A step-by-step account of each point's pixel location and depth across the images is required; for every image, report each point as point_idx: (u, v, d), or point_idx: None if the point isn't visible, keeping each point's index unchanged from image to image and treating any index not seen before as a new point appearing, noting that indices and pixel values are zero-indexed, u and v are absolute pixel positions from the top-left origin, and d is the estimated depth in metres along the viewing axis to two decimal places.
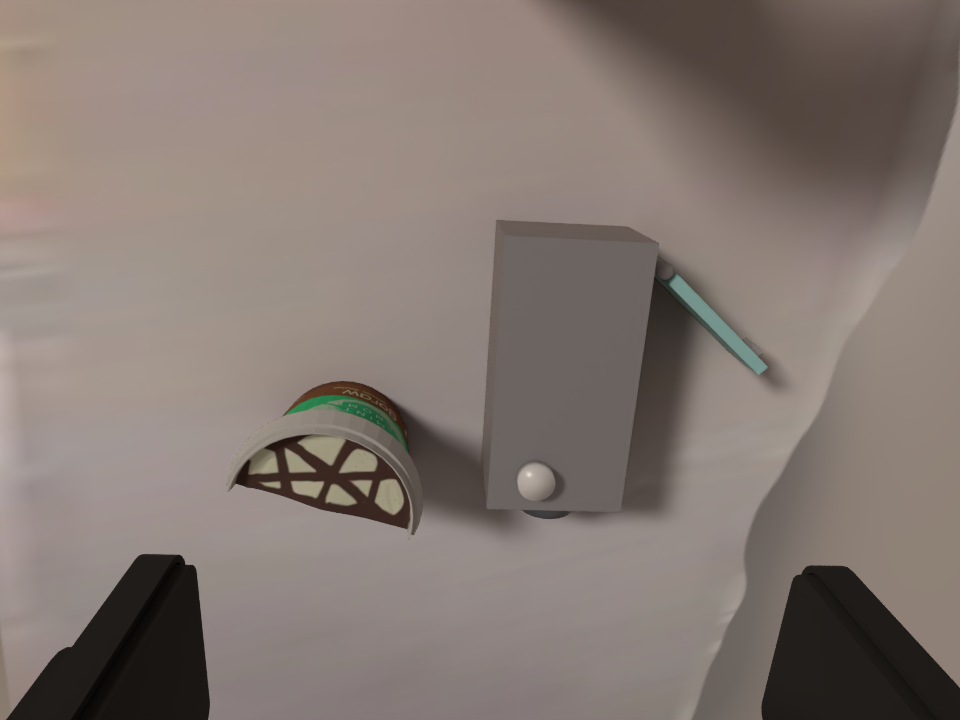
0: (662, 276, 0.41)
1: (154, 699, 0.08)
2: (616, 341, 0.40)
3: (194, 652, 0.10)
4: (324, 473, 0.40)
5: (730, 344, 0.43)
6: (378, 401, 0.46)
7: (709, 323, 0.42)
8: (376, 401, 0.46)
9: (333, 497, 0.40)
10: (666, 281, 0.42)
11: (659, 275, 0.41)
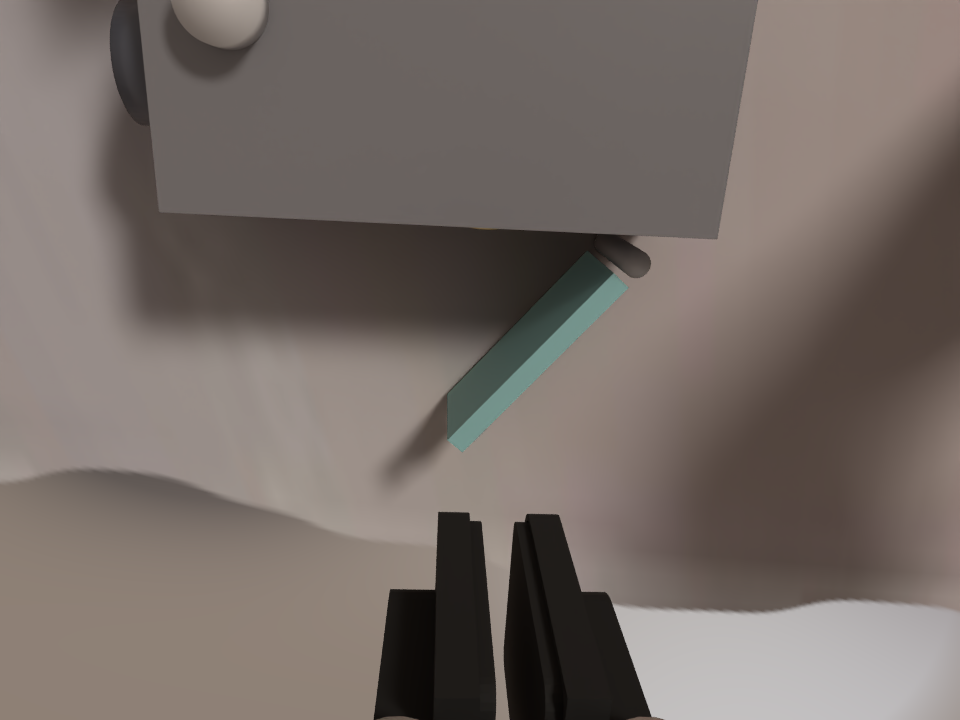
0: (629, 259, 0.24)
1: None
2: (539, 174, 0.21)
3: None
4: None
5: (503, 387, 0.25)
6: None
7: (541, 348, 0.25)
8: None
9: None
10: None
11: (631, 254, 0.24)
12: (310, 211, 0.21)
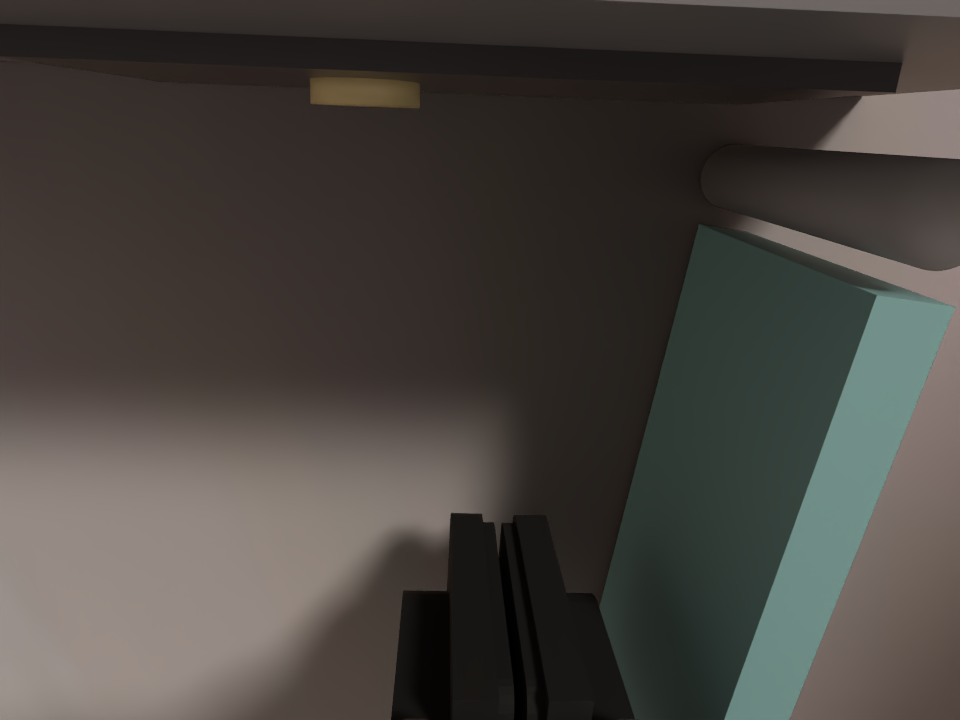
0: (912, 219, 0.06)
1: None
2: None
3: None
4: None
5: None
6: None
7: (767, 621, 0.08)
8: None
9: None
10: (840, 279, 0.07)
11: (907, 199, 0.06)
12: None
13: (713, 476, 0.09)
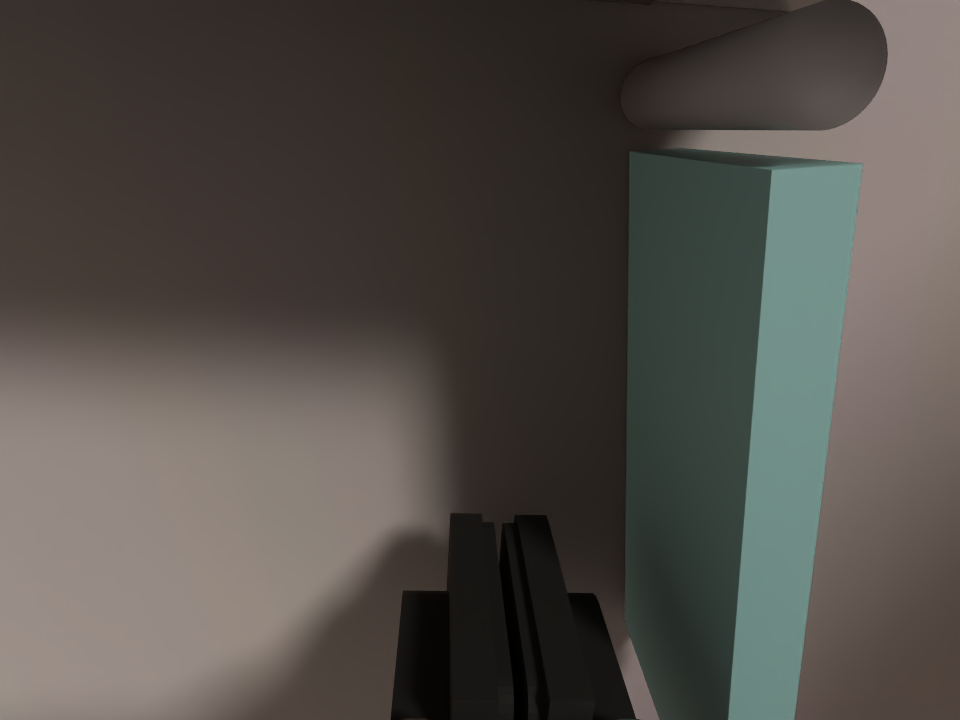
0: (787, 79, 0.05)
1: None
2: None
3: None
4: None
5: (739, 697, 0.08)
6: None
7: (750, 542, 0.07)
8: None
9: None
10: (743, 166, 0.06)
11: (776, 58, 0.05)
12: None
13: (683, 405, 0.09)
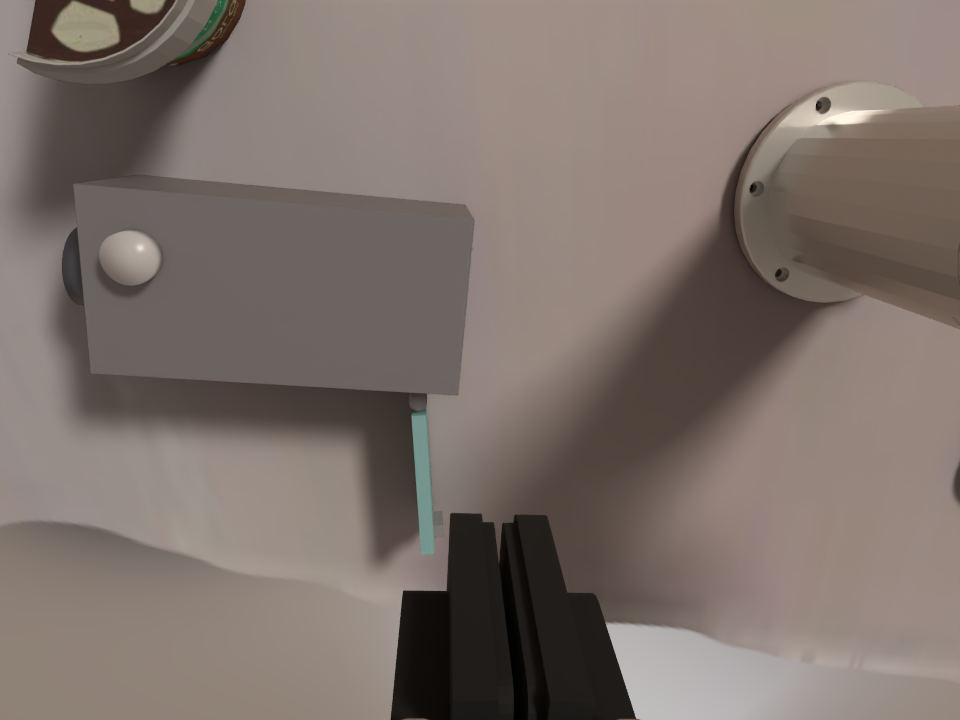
0: (411, 404, 0.36)
1: None
2: (340, 355, 0.33)
3: None
4: None
5: (419, 509, 0.38)
6: (224, 26, 0.32)
7: (417, 477, 0.38)
8: (225, 23, 0.32)
9: None
10: (413, 410, 0.37)
11: (410, 401, 0.36)
12: (190, 374, 0.33)
13: None
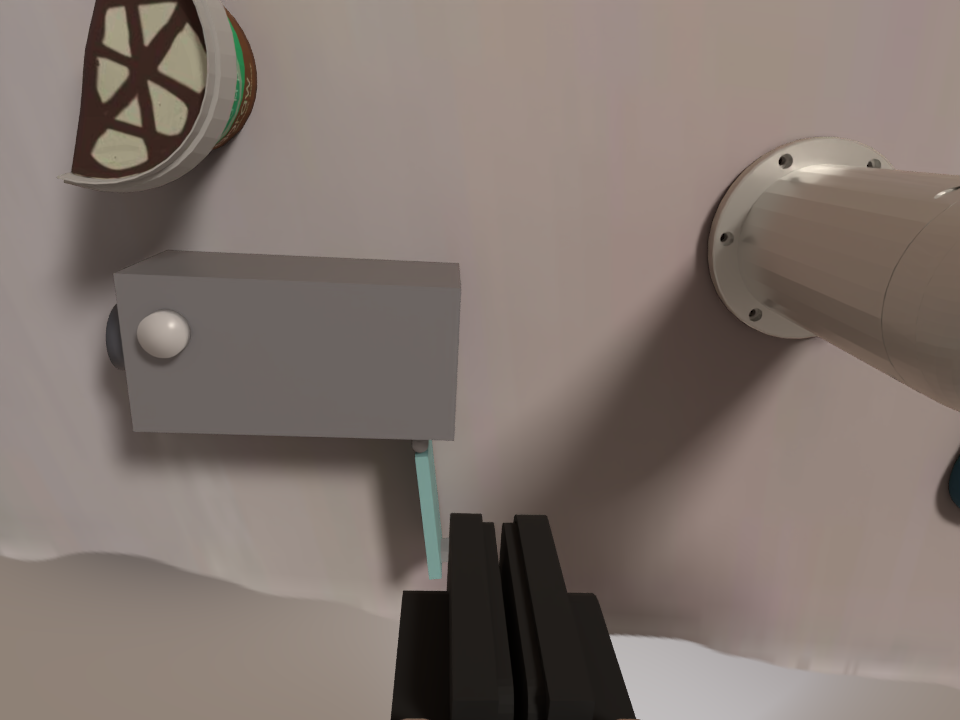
0: (414, 447, 0.40)
1: None
2: (347, 409, 0.37)
3: None
4: (144, 58, 0.29)
5: (426, 539, 0.43)
6: (237, 123, 0.37)
7: (422, 511, 0.42)
8: (238, 121, 0.37)
9: (108, 70, 0.29)
10: (416, 451, 0.41)
11: (413, 444, 0.40)
12: (218, 429, 0.37)
13: None
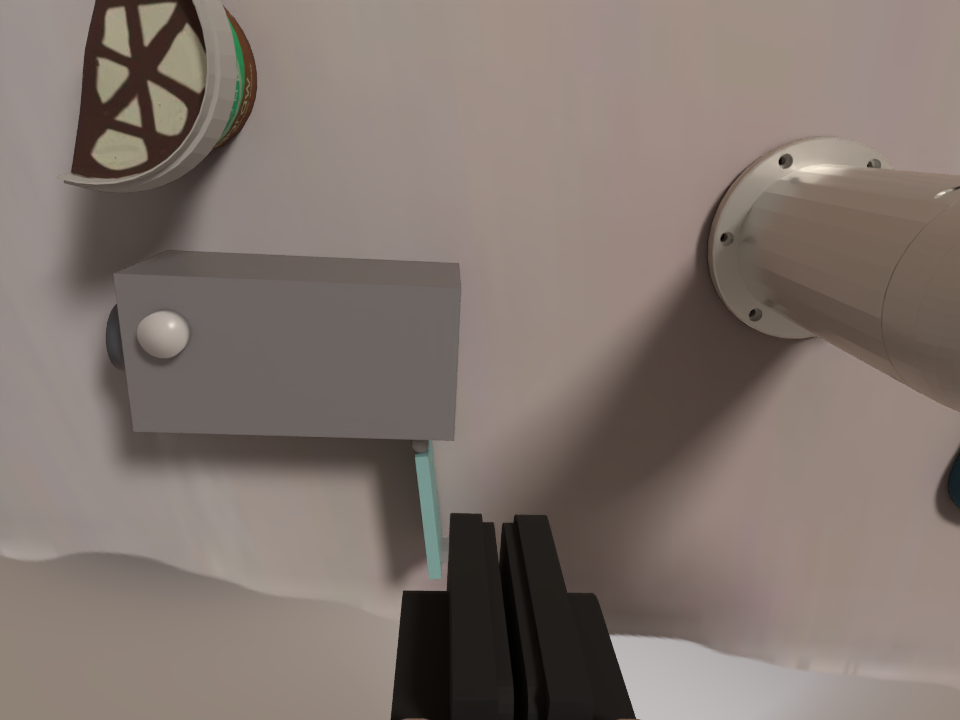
0: (414, 447, 0.40)
1: None
2: (347, 409, 0.37)
3: None
4: (144, 58, 0.29)
5: (426, 539, 0.43)
6: (237, 123, 0.37)
7: (422, 511, 0.42)
8: (238, 121, 0.37)
9: (108, 70, 0.29)
10: (416, 451, 0.41)
11: (413, 444, 0.40)
12: (218, 430, 0.37)
13: None
